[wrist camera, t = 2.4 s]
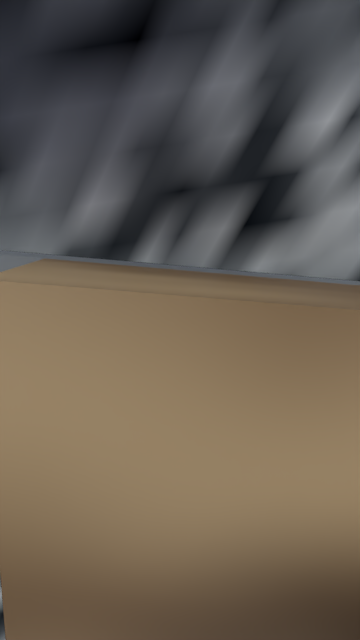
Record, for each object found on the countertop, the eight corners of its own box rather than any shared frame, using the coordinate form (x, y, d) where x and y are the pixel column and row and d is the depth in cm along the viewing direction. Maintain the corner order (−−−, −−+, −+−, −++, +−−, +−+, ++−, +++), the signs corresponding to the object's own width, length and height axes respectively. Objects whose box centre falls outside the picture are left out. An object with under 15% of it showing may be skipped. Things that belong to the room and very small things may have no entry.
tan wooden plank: (267, 698, 10) (296, 832, 8) (54, 697, 9) (21, 838, 7) (371, 286, 6) (477, 320, 4) (44, 257, 6) (-22, 279, 4)
